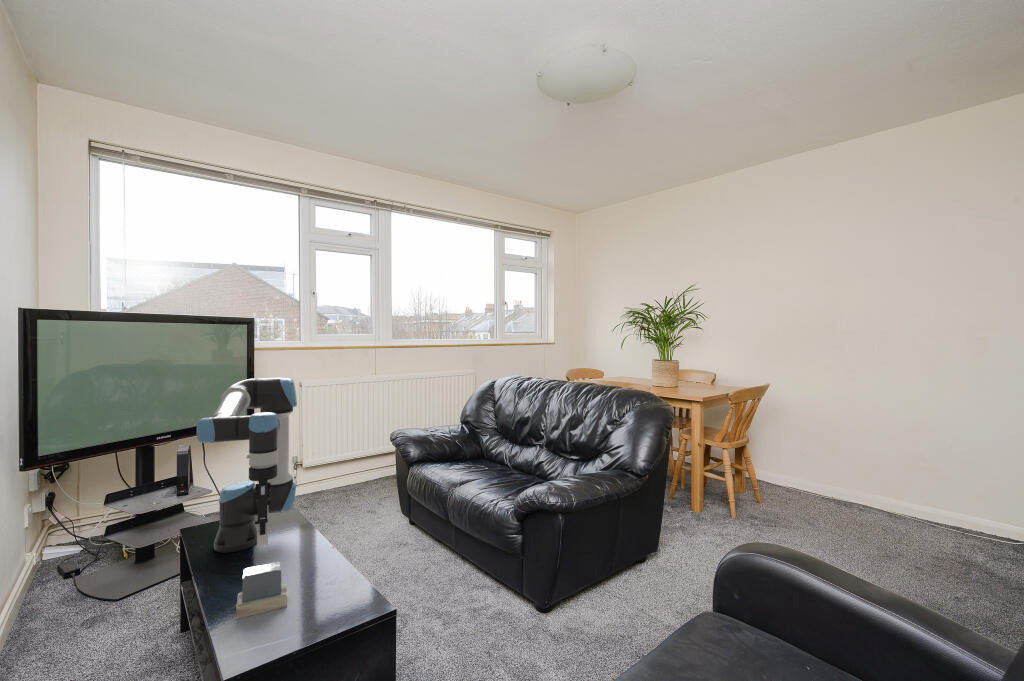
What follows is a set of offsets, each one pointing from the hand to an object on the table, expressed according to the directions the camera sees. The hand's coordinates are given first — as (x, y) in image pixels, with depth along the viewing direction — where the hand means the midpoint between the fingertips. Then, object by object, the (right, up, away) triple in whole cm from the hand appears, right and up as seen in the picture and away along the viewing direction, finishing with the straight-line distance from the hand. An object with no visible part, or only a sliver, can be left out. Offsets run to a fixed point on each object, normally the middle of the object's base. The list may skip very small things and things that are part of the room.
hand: (262, 535), depth 136 cm
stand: (0, -21, 0) cm, 21 cm away
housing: (0, -17, 0) cm, 17 cm away
